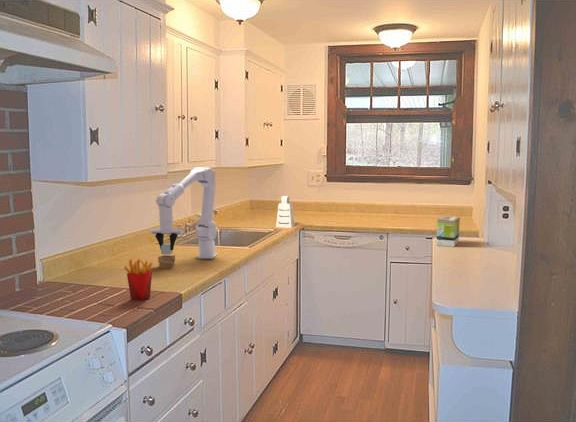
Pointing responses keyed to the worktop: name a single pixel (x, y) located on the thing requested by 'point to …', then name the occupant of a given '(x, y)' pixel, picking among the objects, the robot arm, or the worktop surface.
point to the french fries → (139, 280)
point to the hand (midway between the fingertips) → (167, 249)
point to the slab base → (166, 265)
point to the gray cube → (166, 249)
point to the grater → (285, 213)
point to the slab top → (166, 258)
